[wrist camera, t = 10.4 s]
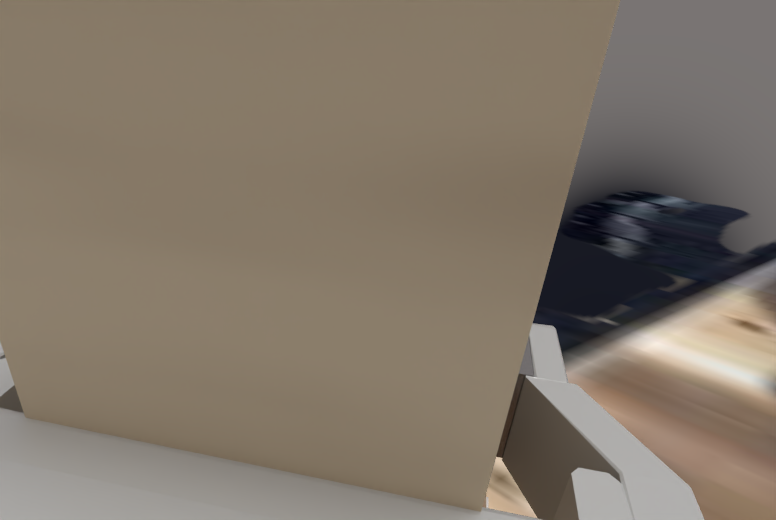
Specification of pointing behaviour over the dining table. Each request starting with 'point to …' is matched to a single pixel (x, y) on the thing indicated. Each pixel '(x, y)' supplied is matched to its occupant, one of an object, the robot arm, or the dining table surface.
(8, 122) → the wooden block
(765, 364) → the dining table surface
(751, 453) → the dining table surface
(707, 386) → the dining table surface
